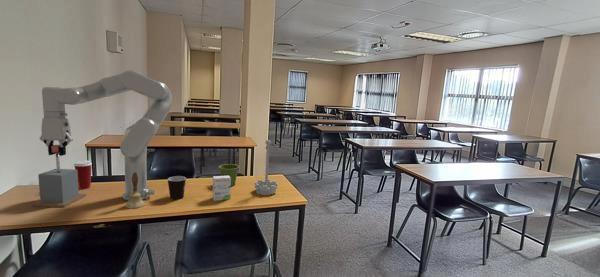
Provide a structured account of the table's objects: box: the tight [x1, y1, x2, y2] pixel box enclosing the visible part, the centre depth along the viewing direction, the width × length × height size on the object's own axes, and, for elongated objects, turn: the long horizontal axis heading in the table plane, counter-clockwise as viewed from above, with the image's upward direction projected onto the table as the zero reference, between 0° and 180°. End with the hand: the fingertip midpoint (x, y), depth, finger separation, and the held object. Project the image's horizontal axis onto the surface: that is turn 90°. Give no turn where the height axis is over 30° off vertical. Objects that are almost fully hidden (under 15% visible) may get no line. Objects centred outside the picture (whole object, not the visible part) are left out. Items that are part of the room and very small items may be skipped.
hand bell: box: [124, 172, 146, 210], centre depth 138 cm, size 8×8×16 cm
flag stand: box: [254, 139, 279, 196], centre depth 167 cm, size 13×13×30 cm
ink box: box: [212, 175, 232, 202], centre depth 154 cm, size 9×5×12 cm, turn 113°
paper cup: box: [73, 160, 93, 190], centre depth 157 cm, size 8×8×14 cm
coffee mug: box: [167, 175, 187, 201], centre depth 153 cm, size 12×9×10 cm
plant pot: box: [218, 163, 240, 187], centre depth 177 cm, size 12×12×11 cm
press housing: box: [31, 168, 87, 208], centre depth 138 cm, size 14×14×14 cm
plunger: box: [51, 144, 61, 173], centre depth 137 cm, size 7×7×18 cm
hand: (57, 154), depth 136 cm, fingers closed on plunger, 4 cm apart
